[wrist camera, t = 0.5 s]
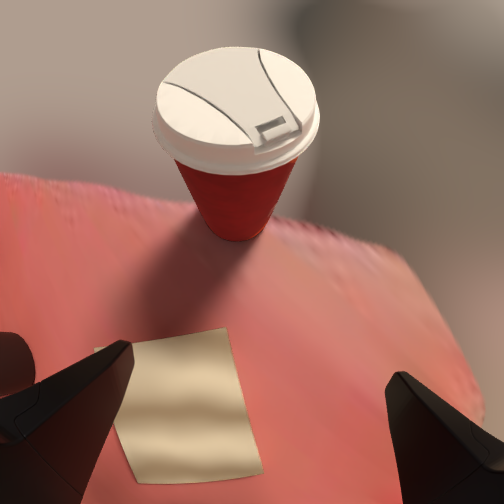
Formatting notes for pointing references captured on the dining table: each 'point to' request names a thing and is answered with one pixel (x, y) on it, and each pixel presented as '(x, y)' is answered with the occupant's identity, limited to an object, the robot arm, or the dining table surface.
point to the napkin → (186, 412)
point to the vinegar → (15, 364)
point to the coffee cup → (236, 132)
